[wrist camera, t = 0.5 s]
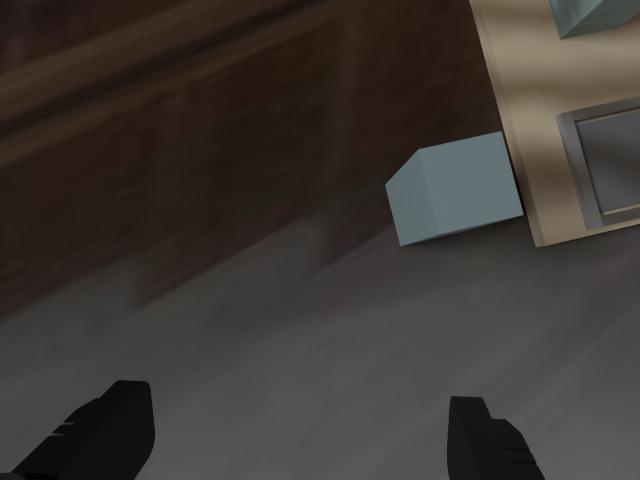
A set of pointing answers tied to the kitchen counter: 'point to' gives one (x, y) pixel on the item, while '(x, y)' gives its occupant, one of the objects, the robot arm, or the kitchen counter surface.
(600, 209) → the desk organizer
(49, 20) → the kitchen counter surface
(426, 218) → the pillar
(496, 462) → the robot arm
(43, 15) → the kitchen counter surface
